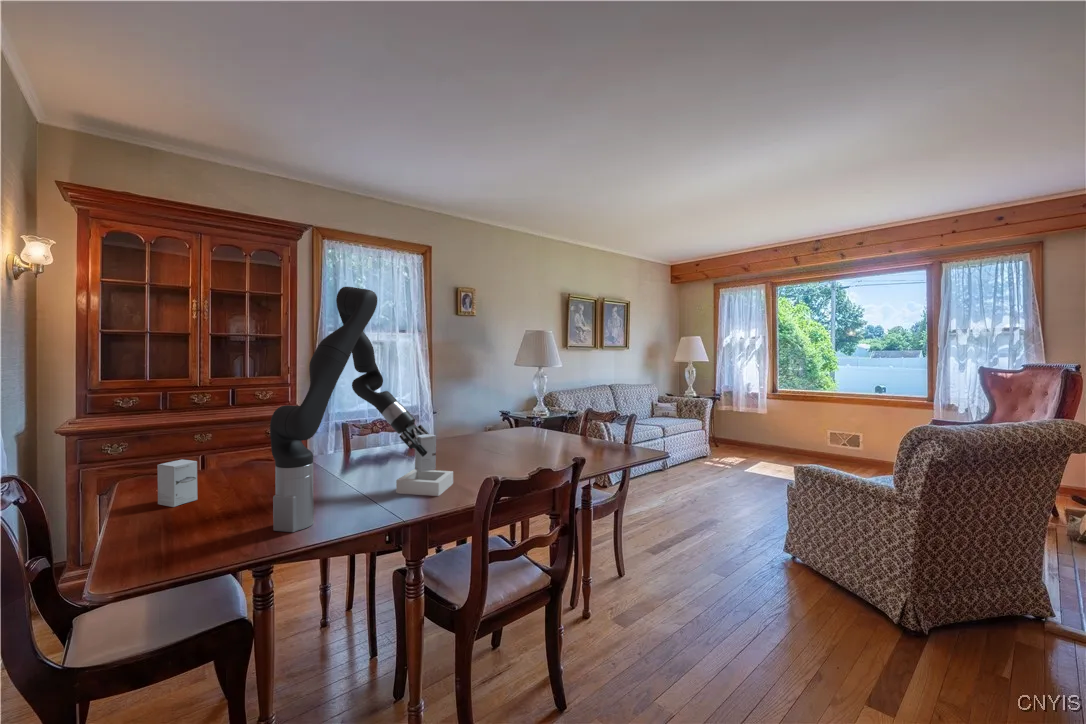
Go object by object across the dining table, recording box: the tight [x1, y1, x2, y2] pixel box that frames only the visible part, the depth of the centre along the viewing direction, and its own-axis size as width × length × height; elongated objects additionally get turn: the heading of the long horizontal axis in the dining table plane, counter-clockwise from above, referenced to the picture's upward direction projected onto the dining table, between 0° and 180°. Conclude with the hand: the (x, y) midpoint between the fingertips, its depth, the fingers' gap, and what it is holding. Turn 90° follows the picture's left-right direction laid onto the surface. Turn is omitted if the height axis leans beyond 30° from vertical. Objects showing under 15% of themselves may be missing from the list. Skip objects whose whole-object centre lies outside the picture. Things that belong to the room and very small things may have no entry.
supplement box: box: [157, 459, 198, 508], centre depth 146 cm, size 7×7×13 cm
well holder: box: [395, 468, 454, 497], centre depth 163 cm, size 14×15×4 cm
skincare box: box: [414, 433, 437, 472], centre depth 162 cm, size 6×4×12 cm
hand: (429, 451), depth 162 cm, fingers closed on skincare box, 7 cm apart
